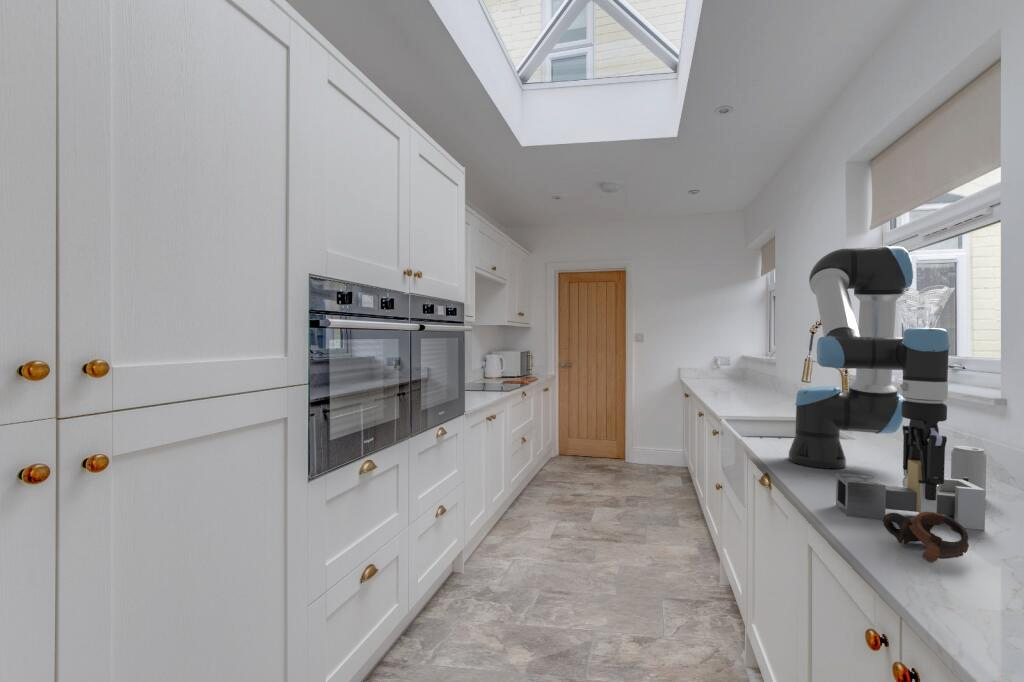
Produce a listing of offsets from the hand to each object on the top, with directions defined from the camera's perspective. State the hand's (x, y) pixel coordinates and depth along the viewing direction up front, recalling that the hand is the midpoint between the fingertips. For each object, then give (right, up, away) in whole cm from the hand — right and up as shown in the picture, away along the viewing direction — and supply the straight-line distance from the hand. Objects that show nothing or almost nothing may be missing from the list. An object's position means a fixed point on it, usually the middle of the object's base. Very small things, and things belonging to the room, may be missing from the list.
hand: (921, 510), depth 109 cm
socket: (+6, -2, -2) cm, 7 cm away
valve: (+13, -2, +13) cm, 18 cm away
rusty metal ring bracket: (-14, -2, -18) cm, 22 cm away
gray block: (-11, -1, +3) cm, 12 cm away
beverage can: (+24, -2, +16) cm, 29 cm away
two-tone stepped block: (-1, 0, 0) cm, 2 cm away
